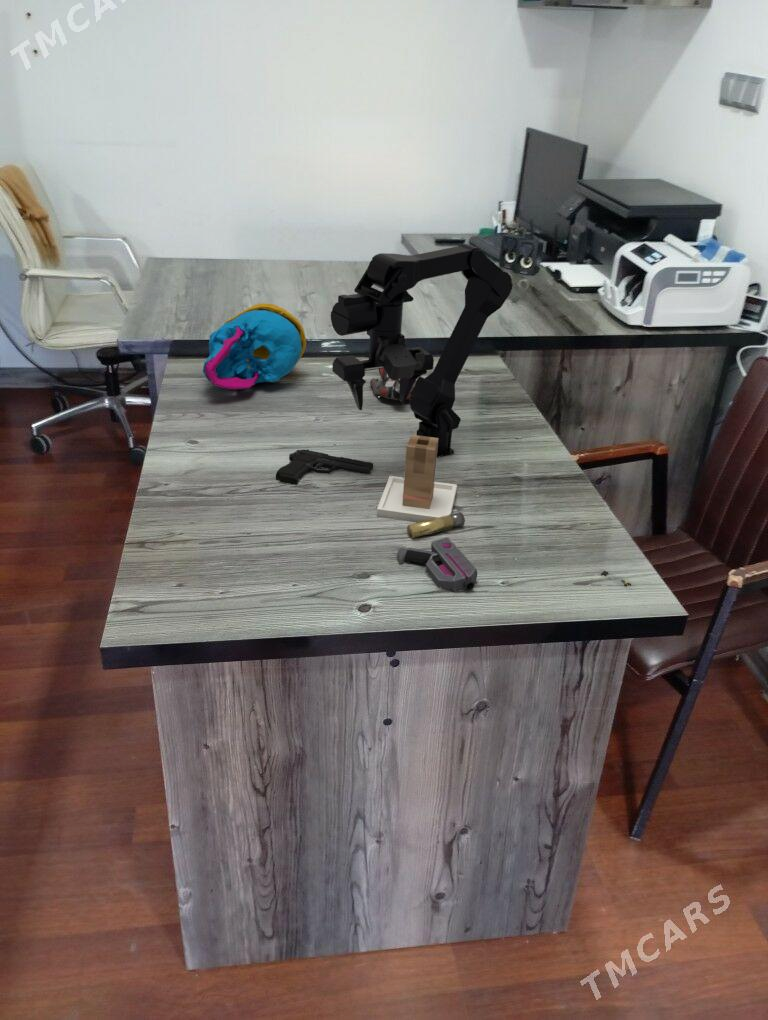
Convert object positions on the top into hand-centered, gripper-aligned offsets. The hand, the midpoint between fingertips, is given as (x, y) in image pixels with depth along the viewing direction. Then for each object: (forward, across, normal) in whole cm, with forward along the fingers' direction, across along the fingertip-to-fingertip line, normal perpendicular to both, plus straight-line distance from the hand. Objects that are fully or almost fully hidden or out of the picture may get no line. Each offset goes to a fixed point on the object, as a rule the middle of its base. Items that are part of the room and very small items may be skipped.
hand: (381, 405), depth 160 cm
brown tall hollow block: (+12, 0, -16) cm, 20 cm away
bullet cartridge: (+13, -2, -26) cm, 29 cm away
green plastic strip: (+14, +18, -50) cm, 55 cm away
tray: (+13, 0, -16) cm, 21 cm away
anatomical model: (+13, -8, +49) cm, 51 cm away
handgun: (+14, -11, +1) cm, 18 cm away
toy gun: (+14, -8, -36) cm, 40 cm away
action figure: (+14, +23, +34) cm, 43 cm away
